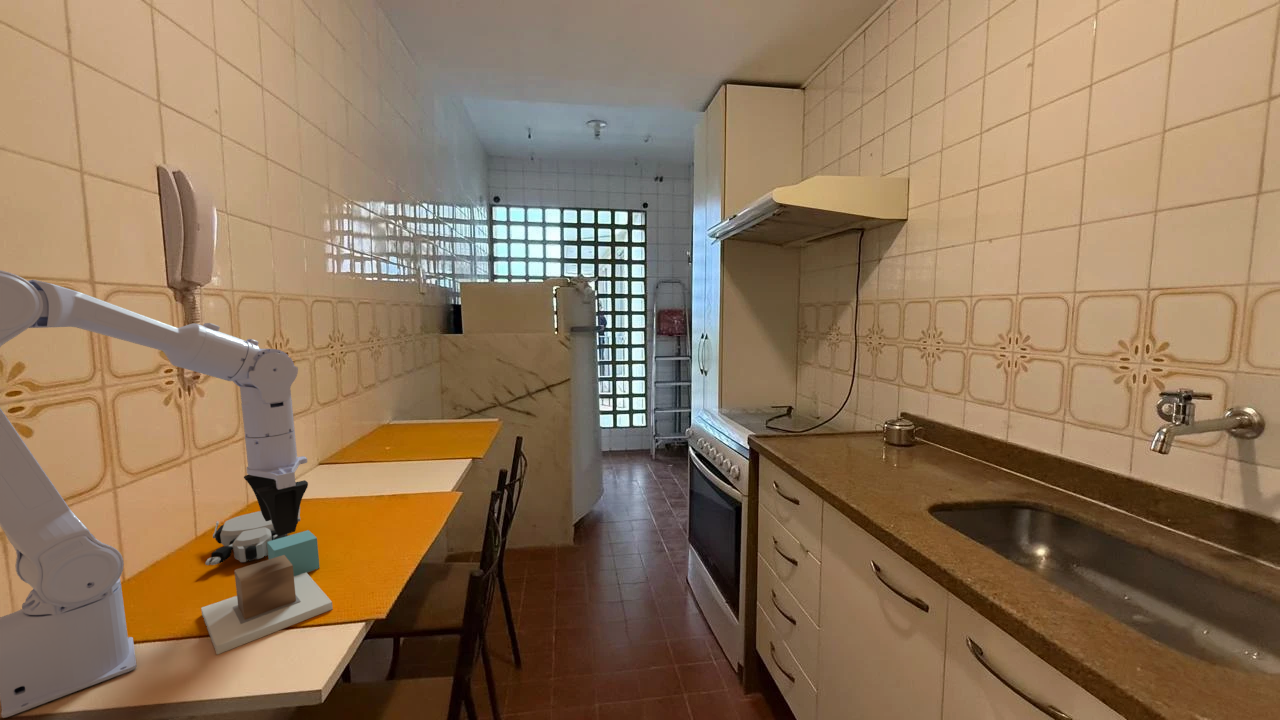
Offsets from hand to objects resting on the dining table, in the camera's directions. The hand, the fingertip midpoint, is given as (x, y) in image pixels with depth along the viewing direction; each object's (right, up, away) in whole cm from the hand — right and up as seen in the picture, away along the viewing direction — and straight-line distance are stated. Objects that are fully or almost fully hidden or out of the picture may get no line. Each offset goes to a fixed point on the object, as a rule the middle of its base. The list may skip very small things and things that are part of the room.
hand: (279, 525), depth 73 cm
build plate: (+2, -10, -6) cm, 11 cm away
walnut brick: (+2, -9, -6) cm, 10 cm away
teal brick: (-2, -9, +6) cm, 11 cm away
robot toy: (-13, -9, +14) cm, 21 cm away
